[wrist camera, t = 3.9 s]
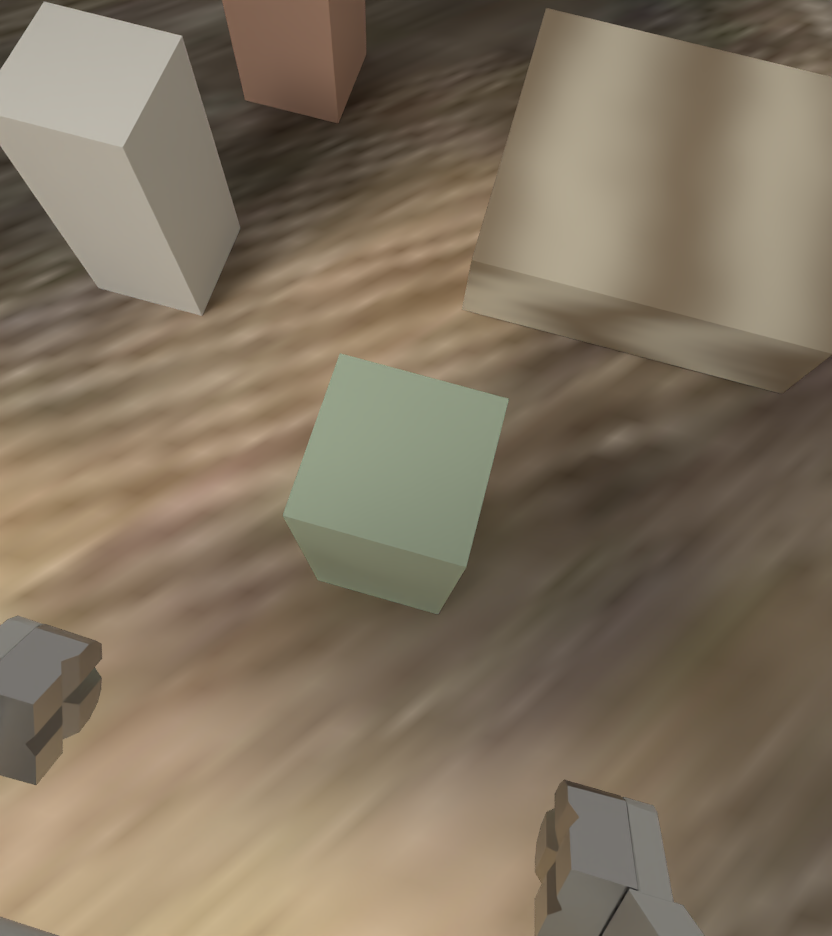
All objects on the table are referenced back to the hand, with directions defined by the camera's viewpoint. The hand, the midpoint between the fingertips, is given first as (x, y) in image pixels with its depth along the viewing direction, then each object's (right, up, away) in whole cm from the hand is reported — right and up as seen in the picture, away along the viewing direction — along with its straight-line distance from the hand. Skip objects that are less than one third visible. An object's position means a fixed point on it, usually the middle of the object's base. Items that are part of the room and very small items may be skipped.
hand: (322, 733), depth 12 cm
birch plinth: (+11, +14, +15) cm, 24 cm away
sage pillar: (+1, +2, +11) cm, 11 cm away
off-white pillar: (-8, +12, +14) cm, 20 cm away
